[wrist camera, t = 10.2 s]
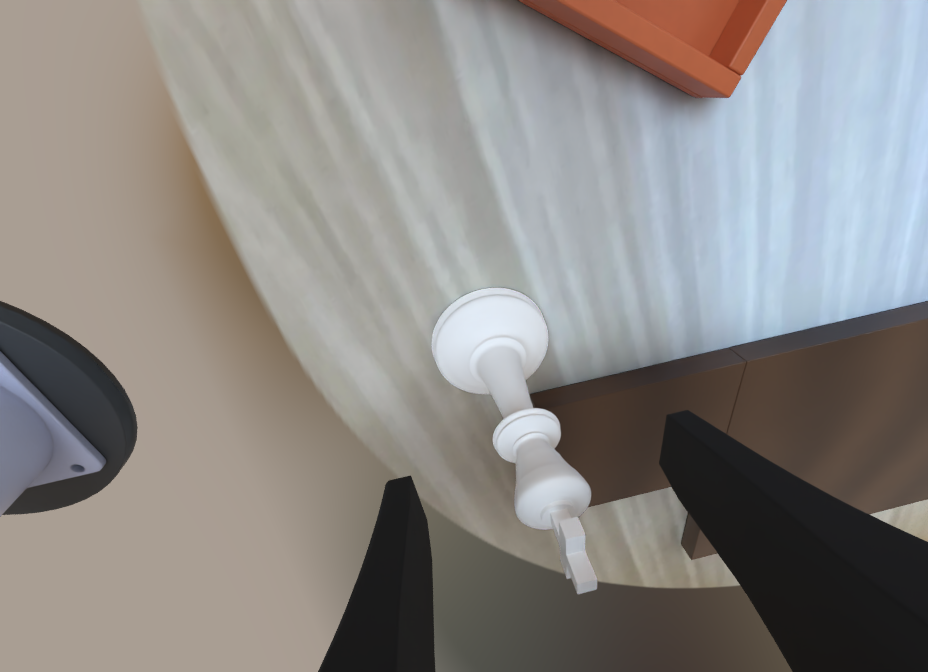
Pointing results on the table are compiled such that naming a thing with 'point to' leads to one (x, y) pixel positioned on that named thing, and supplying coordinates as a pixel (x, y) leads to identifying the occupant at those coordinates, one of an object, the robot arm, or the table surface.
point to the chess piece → (518, 412)
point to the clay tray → (674, 36)
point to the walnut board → (769, 413)
